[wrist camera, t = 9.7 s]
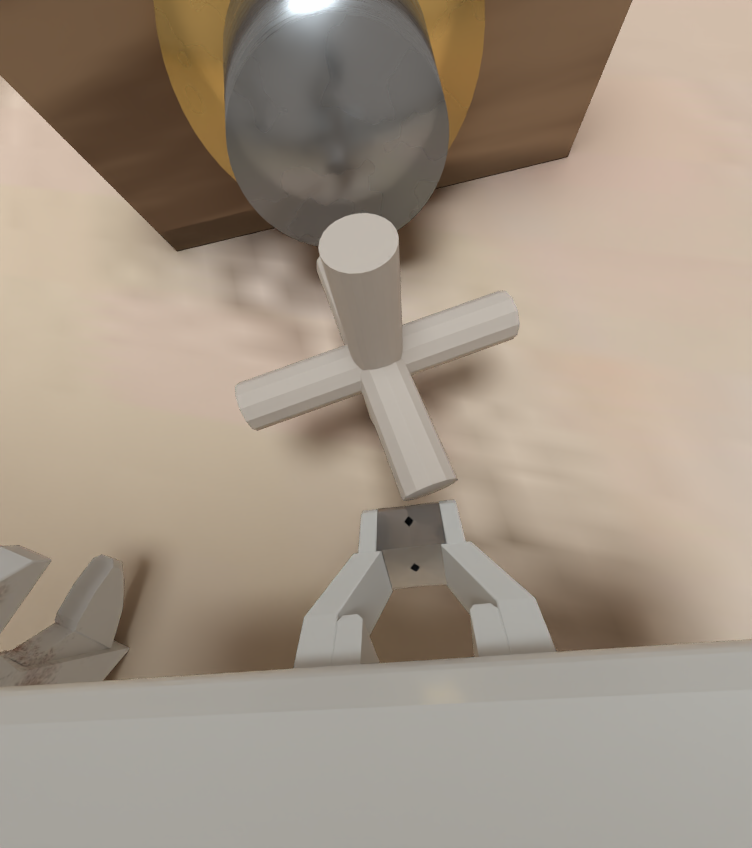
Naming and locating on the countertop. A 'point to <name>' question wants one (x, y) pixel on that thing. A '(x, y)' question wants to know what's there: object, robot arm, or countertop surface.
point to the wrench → (63, 622)
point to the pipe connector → (379, 352)
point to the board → (202, 175)
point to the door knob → (325, 99)
